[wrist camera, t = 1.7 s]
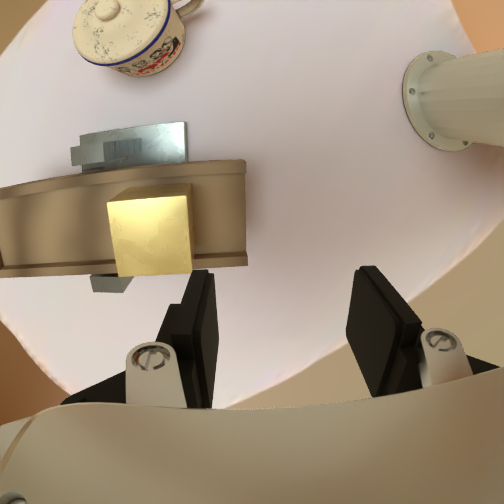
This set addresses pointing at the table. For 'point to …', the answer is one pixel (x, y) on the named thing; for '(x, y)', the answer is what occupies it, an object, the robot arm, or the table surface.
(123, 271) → the block
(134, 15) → the teacup with lid
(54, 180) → the balance beam
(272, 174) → the table surface
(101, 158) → the pivot stand
